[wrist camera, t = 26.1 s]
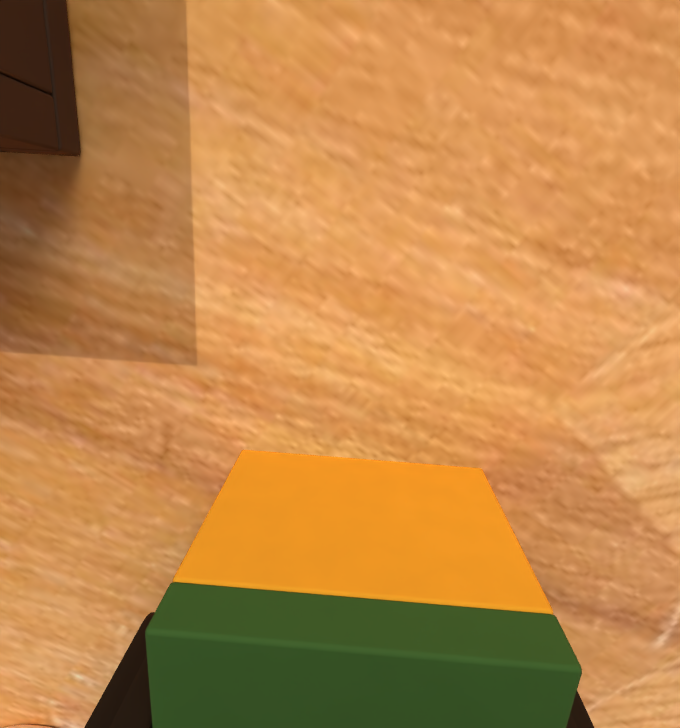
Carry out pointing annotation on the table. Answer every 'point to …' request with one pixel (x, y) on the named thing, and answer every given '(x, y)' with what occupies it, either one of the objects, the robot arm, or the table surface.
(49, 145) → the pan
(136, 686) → the robot arm
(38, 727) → the pill bottle
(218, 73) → the table surface
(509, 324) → the table surface
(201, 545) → the sponge
